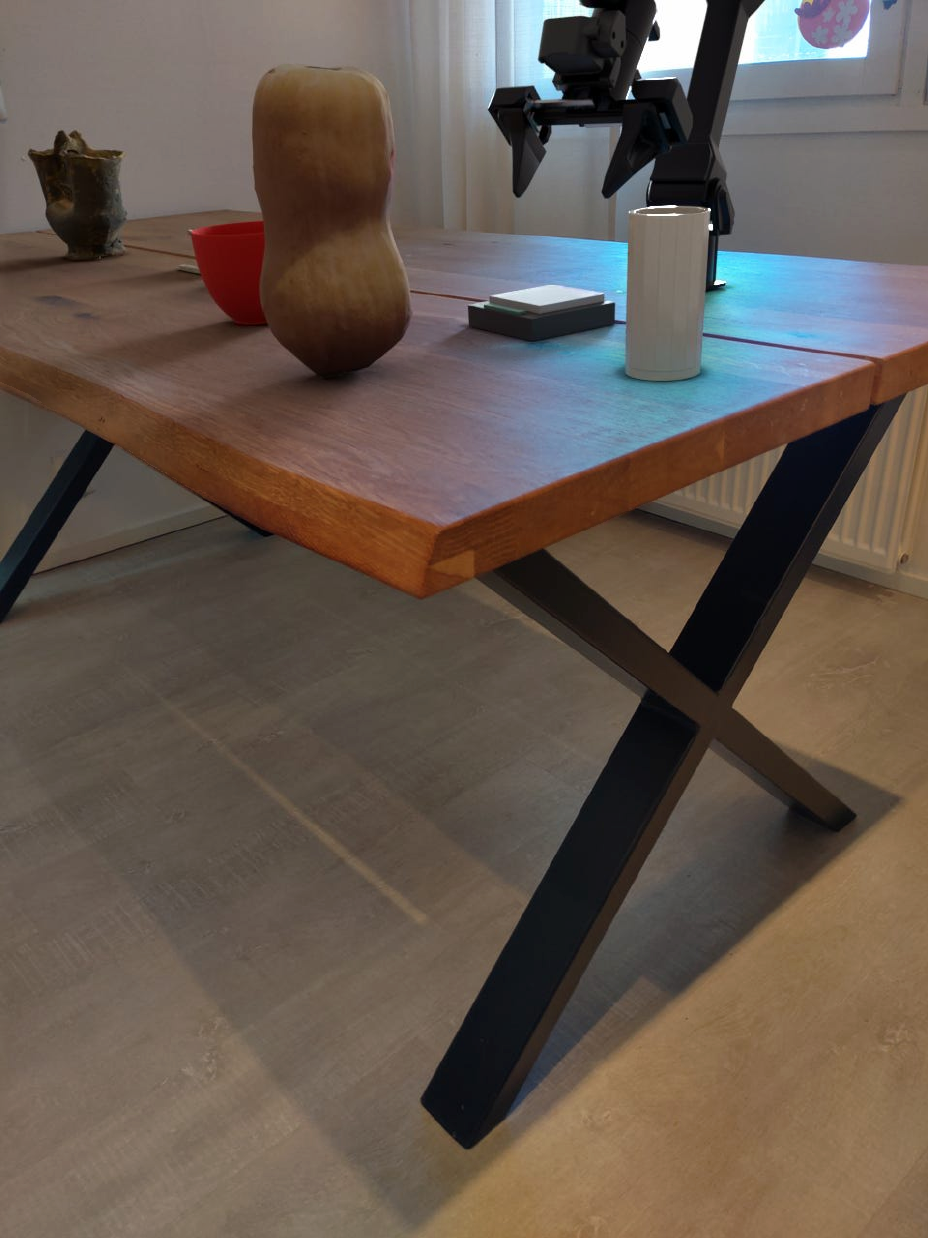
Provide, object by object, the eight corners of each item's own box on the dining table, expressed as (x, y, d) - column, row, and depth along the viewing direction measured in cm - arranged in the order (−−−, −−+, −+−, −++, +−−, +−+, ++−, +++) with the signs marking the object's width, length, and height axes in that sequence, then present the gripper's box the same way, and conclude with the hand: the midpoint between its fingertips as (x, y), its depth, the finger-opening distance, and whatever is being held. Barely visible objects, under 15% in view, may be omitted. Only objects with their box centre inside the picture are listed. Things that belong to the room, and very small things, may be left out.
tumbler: (662, 358, 91) (669, 204, 85) (716, 371, 86) (727, 208, 80) (609, 371, 88) (612, 212, 82) (662, 385, 83) (669, 217, 77)
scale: (548, 310, 113) (548, 282, 112) (614, 323, 105) (615, 294, 104) (468, 325, 108) (467, 296, 106) (532, 341, 100) (531, 310, 98)
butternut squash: (431, 379, 88) (410, 53, 77) (279, 398, 85) (232, 62, 74) (396, 347, 100) (372, 61, 89) (261, 363, 97) (218, 69, 86)
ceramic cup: (258, 301, 128) (246, 216, 123) (340, 315, 117) (331, 222, 112) (167, 319, 120) (150, 229, 115) (246, 336, 109) (232, 238, 104)
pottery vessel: (38, 254, 181) (9, 132, 171) (96, 246, 187) (71, 127, 177) (92, 266, 163) (63, 130, 154) (154, 257, 169) (130, 126, 160)
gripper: (491, -13, 92) (433, 137, 90) (683, -35, 82) (624, 131, 80) (538, 77, 101) (487, 214, 99) (716, 66, 92) (663, 217, 90)
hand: (559, 195), depth 92 cm, fingers open, 9 cm apart
